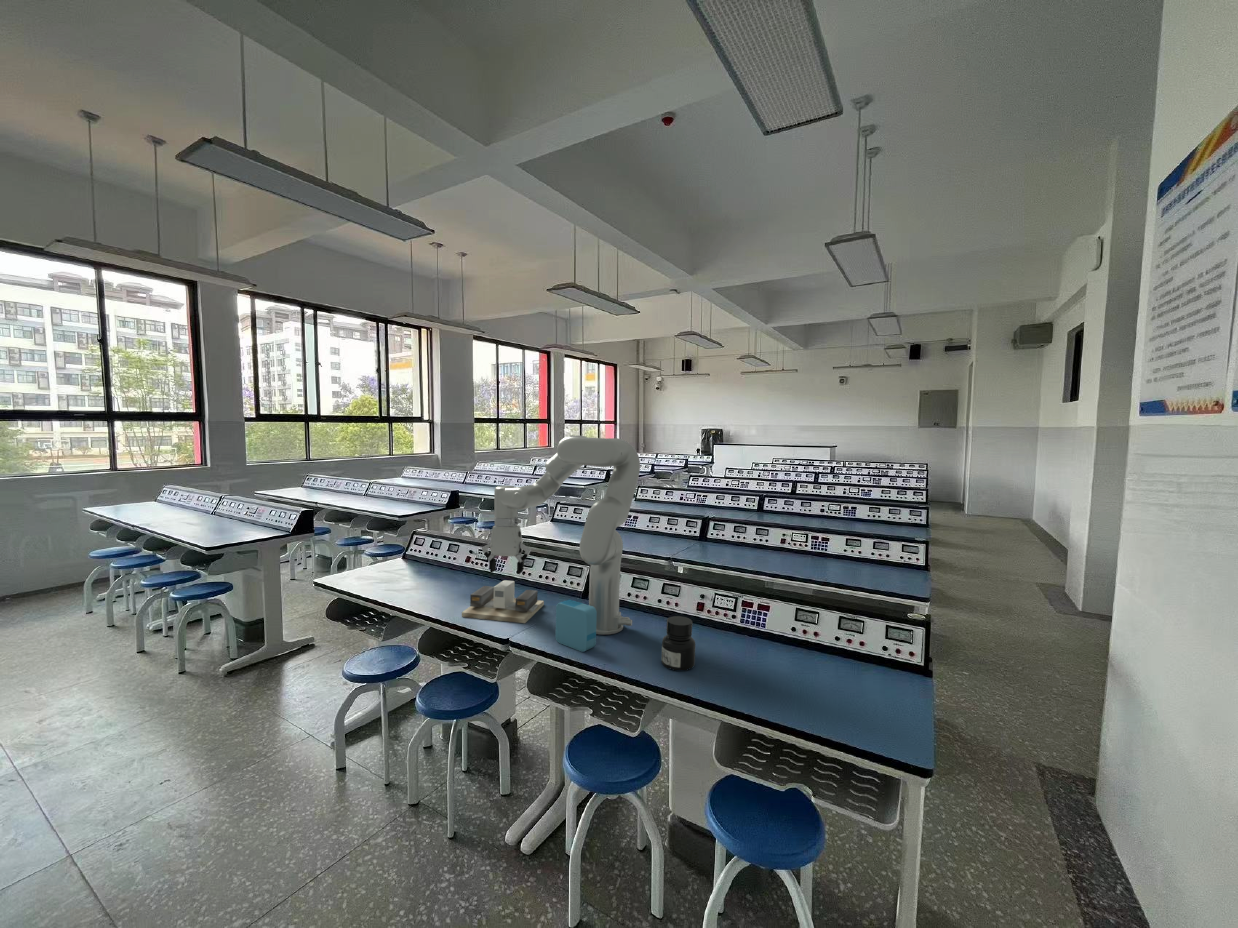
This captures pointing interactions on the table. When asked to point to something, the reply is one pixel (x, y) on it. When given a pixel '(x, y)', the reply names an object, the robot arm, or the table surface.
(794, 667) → the table surface
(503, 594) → the block
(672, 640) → the ink bottle
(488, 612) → the rail board
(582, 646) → the light blue flat block
